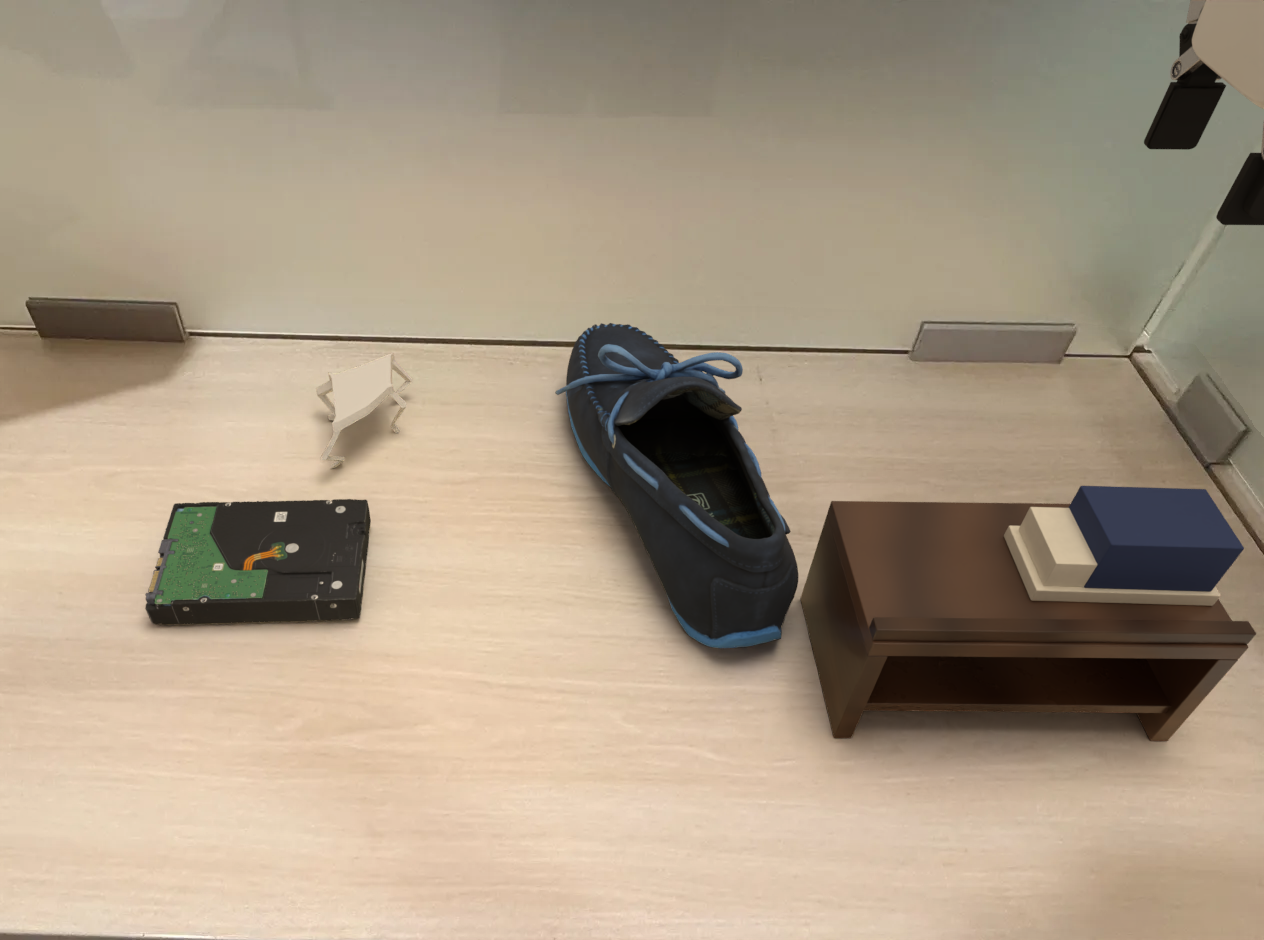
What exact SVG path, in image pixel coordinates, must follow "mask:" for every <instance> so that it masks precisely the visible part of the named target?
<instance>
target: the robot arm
mask: <svg viewBox="0 0 1264 940" xmlns="http://www.w3.org/2000/svg"><path fill="white" fill-rule="evenodd" d="M1185 23H1186V24H1185V25H1184V26H1183V28H1182V30H1181V32H1179V36H1178V37H1179V46H1178V47H1179V48H1178V49H1179V51H1178V53H1179V55H1178V58H1177V59H1175V60H1174V62H1173V63H1172V64H1171V67H1170V71H1169V77H1170V79H1171V80H1172V81H1170V82H1169V85H1168V86H1167V89H1166V91H1165V94H1164V95H1163V98H1162V100H1161V103H1160V104H1159V106H1158V108H1157V111H1156V113H1155V115H1154V118H1153V120H1152V122H1151V125H1150V127H1149V129H1148V131H1147V132H1146V135H1145V137H1144V139H1143V144H1144V146H1145V147H1146V148H1148V149H1149V150H1186V151H1187V150H1192V149H1195V148H1196V147H1197V146H1198V144H1199V142H1200V140H1201V139H1202V136H1203V134H1204V132H1205V130H1206V128H1207V126H1208V124H1209V122H1210V120H1211V118H1212V117H1213V114H1214V112H1215V110H1216V108H1217V106H1218V104H1219V102H1220V100H1221V97H1222V96H1223V93H1224V92H1225V90H1226V87H1227V84H1229V85H1230V86H1231V87H1232V88H1234V90H1236V91H1237V92H1238V93H1239V94H1241V95H1242V96H1244V98H1245V99H1247V100H1249V101H1250V102H1251V103H1252V104H1254V105H1255V106H1257V107H1258V108H1260V109H1263V110H1264V0H1189V6H1188V10H1187V16H1186V21H1185ZM1221 79H1222V80H1224V82H1226V83H1227V84H1225V83H1224V82H1220V80H1221ZM1216 81H1217V82H1216ZM1218 81H1219V82H1218ZM1262 122H1263V123H1262V134H1261V149H1260V152H1250V153H1249V154H1248V155H1247V157H1246V159H1245V160H1244V163H1243V164H1242V166H1241V168H1240V170H1239V172H1238V173H1237V176H1236V177H1235V180H1234V181H1233V183H1232V185H1231V186H1230V188H1229V190H1228V192H1227V194H1226V196H1225V198H1224V200H1223V201H1222V204H1221V206H1220V207H1219V209H1218V211H1217V214H1216V216H1215V217H1216V218H1215V219H1216V220H1217V221H1218V222H1219V223H1220V224H1221V225H1223V226H1264V121H1262Z"/></svg>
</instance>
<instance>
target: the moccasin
mask: <svg viewBox="0 0 1264 940" xmlns="http://www.w3.org/2000/svg"><path fill="white" fill-rule="evenodd" d="M568 360H569V361H568V364H567V370H566V377H565V378H566V383H565V386H563V387H561V388H559V389H557V390H555V395H557V396H559V395H562V394H563V393H565V396H566V404H567V412H568V417H569V423H570V426H571V429H572V430H571V431H572V432H573V435H574V438H575V441H576V443H577V446H578V449H579V451H580V453H581V455H582V457H583V458H584V460H585V461H586V463H587V464H588V465H589V467H590V468H591V469H592V470H593V472H594V473H595V474H596V475H597V476H598V477H599V478H600V479H601V481H602V482H604V483H605V484H606V485H607V486H608V487H610V489H611V491H612V492H613V494H614V495H615V496H616V497H617V498H618V499H619V500H620V502H621V503H622V505H623V506H624V508H625V510H626V511H627V513H628V515H629V518H630V520H631V521H632V523H633V525H634V527H635V530H636V532H637V534H638V536H639V539H640V540H641V542H642V545H643V547H644V549H645V551H646V553H647V554H648V556H649V559H650V561H651V563H652V565H653V567H654V569H655V572H656V575H657V577H658V579H659V581H660V584H661V585H662V588H663V590H664V592H665V594H666V597H667V600H668V602H669V605H670V608H671V611H672V612H673V614H674V616H675V617H676V619H677V621H678V623H679V625H680V626H681V627H682V629H683V630H684V632H685V633H686V634H687V635H688V636H689V637H690V638H692V639H694V640H695V641H696V642H699V643H700V644H702V645H703V646H706V647H710V648H716V649H736V648H745V647H747V648H748V647H754V646H758V645H761V644H766V643H770V642H773V641H775V640H781V639H782V631H783V630H782V629H783V627H782V626H783V624H784V622H785V619H786V616H787V614H788V612H789V609H790V607H791V604H792V602H793V600H794V598H795V595H796V592H797V589H798V585H799V568H798V563H797V560H796V556H795V552H794V550H793V547H792V546H791V543H790V541H789V538H788V536H787V535H789V534H791V529H790V526H789V524H788V523H787V521H786V519H785V518H784V516H783V515H782V514H781V513H780V511H779V509H778V507H777V505H776V504H775V502H774V501H773V500H772V498H771V495H770V493H769V491H768V488H767V486H766V484H765V481H764V479H763V477H762V471H761V467H760V464H759V461H758V459H757V456H756V455H755V453H754V451H753V450H752V448H751V447H750V446H749V445H748V443H747V442H746V440H745V438H744V436H743V435H742V433H741V432H740V431H739V424H738V422H737V419H736V418H735V416H736V415H739V414H740V413H741V412H742V411H743V408H742V407H741V406H740V405H738V404H737V403H736V402H735V401H734V400H732V399H731V398H730V396H728V395H727V394H726V390H725V389H723V388H721V387H720V386H719V383H718V381H717V379H716V377H718V378H722V379H726V380H735V379H739V378H741V377H742V375H743V373H744V368H743V365H742V363H741V362H740V360H739V359H738V358H737V357H736V356H734V355H732V354H730V353H727V352H718V351H717V352H716V351H715V352H714V351H713V352H708V353H707V352H706V353H704V354H699V355H696V356H693V357H690V358H688V359H685V360H683V361H681V362H680V361H679V359H677V358H676V357H675V356H674V354H672V353H671V352H669V351H668V349H666V348H665V345H663V344H661V343H659V341H658V339H655V338H653V336H652V335H650V334H648V333H647V332H646V331H644V330H640V329H639V327H638V326H632V325H631V324H628V323H627V324H621V323H618V324H617V323H616V324H615V323H612V322H609V323H608V324H606V323H602V322H601V323H600V324H599V325H597V324H593V325H591V327H587V328H586V329H585V330H584V331H583V332H582V333H581V334H580V335H579V336H578V337H577V339H576V340H575V342H574V344H573V347H572V350H571V354H570V356H569V359H568ZM715 361H724V362H727V363H728V364H730V365H732V366H734V368H735V370H734V371H728V370H724V369H721V368H718V367H717V366H713V365H712V364H709V363H707V362H715ZM714 376H715V377H714Z"/></svg>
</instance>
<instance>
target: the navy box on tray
mask: <svg viewBox="0 0 1264 940" xmlns="http://www.w3.org/2000/svg"><path fill="white" fill-rule="evenodd" d="M1069 504H1070V506H1069V507H1068V508H1054V507H1030V508H1029V510H1028V512H1027V514H1026V516H1025V518H1024V520H1023V522H1022V524H1021V526H1009V527H1008V529H1007V530H1006V532H1005V534H1004V538H1005V540H1006V543H1007V545H1008V547H1009V550H1010V552H1011V554H1012V557H1013V559H1014V561H1015V564H1016V566H1017V569H1018V571H1019V573H1020V576H1021V578H1022V580H1023V583H1024V585H1025V588H1026V590H1027V592H1028V595H1029V597H1030V599H1031V600H1032V601H1063V602H1098V603H1132V604H1166V605H1201V606H1213V605H1214V604H1215V602H1216V601H1217V600H1218V599H1219V600H1220V598H1221V595H1222V594H1221V593H1220V592H1219V590H1218V588H1217V587H1216V586H1217V585H1218V583H1219V582H1220V581H1221V579H1222V578H1223V577H1224V575H1225V574H1226V573H1227V572H1228V570H1229V569H1230V568H1231V567H1232V565H1233V564H1234V563H1235V562H1236V560H1237V559H1238V558H1239V556H1240V555H1241V553H1242V552H1243V551H1244V550H1245V546H1243V544H1242V542H1241V541H1240V539H1239V538H1238V536H1237V535H1236V533H1235V532H1234V530H1233V529H1232V527H1231V526H1230V524H1229V522H1228V521H1227V519H1226V518H1225V516H1224V515H1223V514H1222V511H1221V510H1220V508H1219V507H1218V506H1217V504H1216V503H1215V501H1214V499H1213V498H1212V496H1211V495H1210V493H1209V492H1208V490H1207V489H1206V488H1180V487H1179V488H1178V487H1176V488H1175V487H1143V486H1141V487H1139V486H1111V485H1110V486H1105V485H1080V486H1079V488H1078V489H1077V491H1076V493H1075V495H1074V497H1073V499H1072V501H1071V502H1070V503H1069Z"/></svg>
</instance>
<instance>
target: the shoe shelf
mask: <svg viewBox="0 0 1264 940" xmlns="http://www.w3.org/2000/svg"><path fill="white" fill-rule="evenodd" d="M1070 504H1071V503H1049V502H1048V503H1047V502H1046V503H1042V502H1039V503H1036V502H1035V503H1034V502H1033V503H1032V502H960V501H959V502H957V501H955V502H954V501H953V502H951V501H949V502H946V501H945V502H944V501H938V502H937V501H873V500H872V501H871V500H870V501H869V500H868V501H863V500H860V501H858V500H854V501H853V500H831V501H830V503H829V507H828V510H827V514H826V516H825V520H824V523H823V526H822V528H821V532H820V535H819V537H818V542H817V545H816V548H815V551H814V554H813V558H812V561H811V565H810V567H809V571H808V574H807V576H806V580H805V583H804V586H803V589H802V592H801V594H800V595H801V596H800V603H801V607H802V610H803V614H804V619H805V623H806V627H807V632H808V635H809V640H810V644H811V648H812V652H813V656H814V660H815V664H816V665H815V666H816V670H817V673H818V678H819V682H820V685H821V691H822V694H823V698H824V703H825V707H826V711H827V715H828V718H829V723H830V727H831V732H832V735H833V736H832V737H833V738H834V739H852V738H853V736H854V733H855V731H856V729H857V726H858V724H859V722H860V720H861V719H862V718H861V717H862V716H863V714H864V712H865V711H875V712H877V711H879V712H880V711H881V712H883V711H884V712H885V711H888V712H891V711H892V712H985V713H987V712H992V713H993V712H994V713H995V712H996V713H998V712H1001V713H1003V712H1004V713H1017V712H1018V713H1095V714H1096V713H1102V714H1104V713H1106V714H1107V713H1108V714H1109V713H1110V714H1114V713H1115V714H1116V713H1118V714H1136V716H1137V718H1139V722H1140V723H1141V725H1142V727H1143V729H1144V732H1145V733H1146V735H1147V737H1148V739H1149V741H1151V742H1153V741H1156V742H1165V741H1166V742H1167V741H1169V740H1170V739H1171V738H1172V737H1173V736H1174V734H1175V733H1176V732H1177V731H1178V730H1179V728H1181V726H1182V725H1183V724H1184V723H1185V722H1186V721H1187V720H1188V718H1189V717H1190V716H1191V715H1192V714H1193V713H1194V712H1195V710H1196V709H1197V708H1198V707H1199V706H1200V705H1201V704H1202V702H1203V701H1204V700H1205V699H1206V698H1207V696H1209V694H1210V693H1211V692H1212V691H1213V689H1215V687H1216V686H1217V685H1218V684H1219V683H1220V682H1221V680H1223V678H1224V677H1225V676H1226V675H1227V674H1228V672H1229V671H1230V670H1231V669H1232V668H1233V667H1234V666H1235V664H1236V663H1237V662H1238V660H1239V659H1241V658H1242V656H1243V655H1244V654H1245V653H1246V652H1247V650H1248V649H1249V647H1250V646H1249V645H1248V644H1250V643H1251V641H1252V640H1253V639H1254V638H1255V636H1257V632H1256V631H1255V629H1254V627H1253V626H1252V624H1251V623H1250V621H1249V620H1232V618H1231V616H1230V615H1229V613H1228V611H1227V610H1226V609H1225V607H1224V605H1223V603H1222V602H1221V600H1220V598H1219V599H1218V600H1217V601H1216V602H1215V604H1214V605H1213V606H1201V605H1166V604H1132V603H1098V602H1063V601H1032V600H1031V599H1030V597H1029V595H1028V592H1027V590H1026V588H1025V585H1024V583H1023V580H1022V578H1021V576H1020V573H1019V571H1018V569H1017V566H1016V564H1015V561H1014V559H1013V557H1012V554H1011V552H1010V550H1009V547H1008V545H1007V543H1006V540H1005V538H1004V534H1005V532H1006V530H1007V529H1008V527H1009V526H1021V524H1022V522H1023V520H1024V518H1025V516H1026V514H1027V512H1028V510H1029V508H1030V507H1054V508H1068V507H1069V506H1070Z"/></svg>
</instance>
